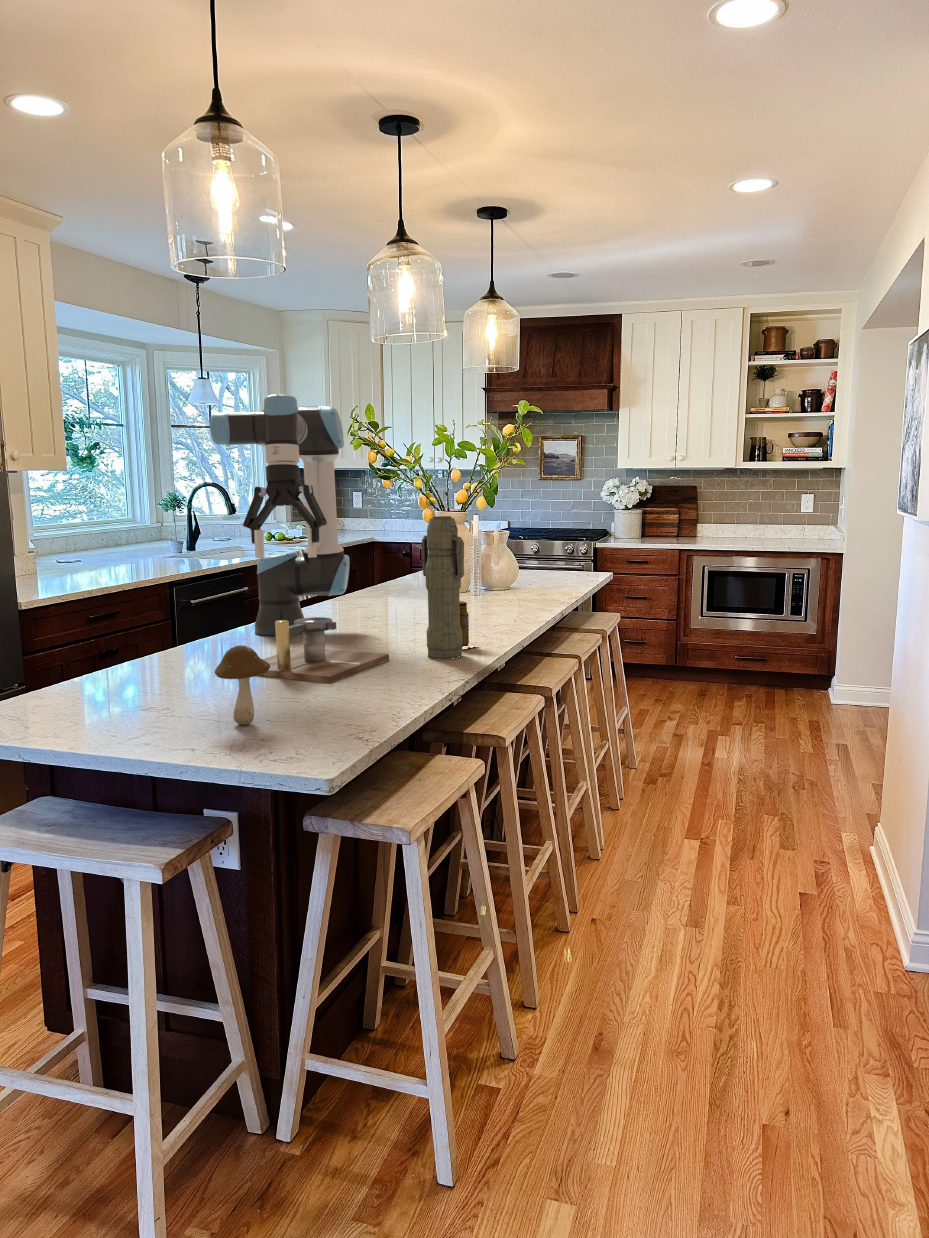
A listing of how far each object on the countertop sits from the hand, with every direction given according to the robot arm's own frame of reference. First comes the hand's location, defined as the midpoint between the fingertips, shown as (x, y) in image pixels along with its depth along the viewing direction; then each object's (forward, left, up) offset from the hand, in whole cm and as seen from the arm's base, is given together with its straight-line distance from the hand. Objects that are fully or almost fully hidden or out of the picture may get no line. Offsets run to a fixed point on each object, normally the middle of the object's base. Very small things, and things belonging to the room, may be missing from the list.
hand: (285, 558), depth 204 cm
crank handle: (+2, +3, -25) cm, 25 cm away
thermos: (+26, +29, -27) cm, 48 cm away
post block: (+2, +7, -27) cm, 28 cm away
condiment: (+24, +41, -27) cm, 55 cm away
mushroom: (+19, -39, -27) cm, 51 cm away
